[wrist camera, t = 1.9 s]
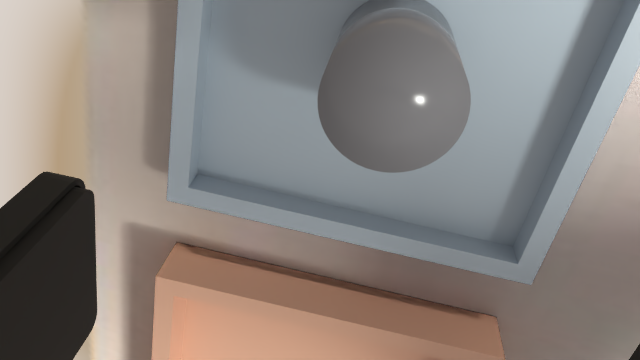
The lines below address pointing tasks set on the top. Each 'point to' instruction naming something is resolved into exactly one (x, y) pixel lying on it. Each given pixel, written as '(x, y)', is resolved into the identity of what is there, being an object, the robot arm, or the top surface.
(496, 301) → the top surface
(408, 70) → the gray metal cylinder
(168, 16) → the top surface
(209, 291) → the terracotta dish
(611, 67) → the parts tray
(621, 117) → the top surface
